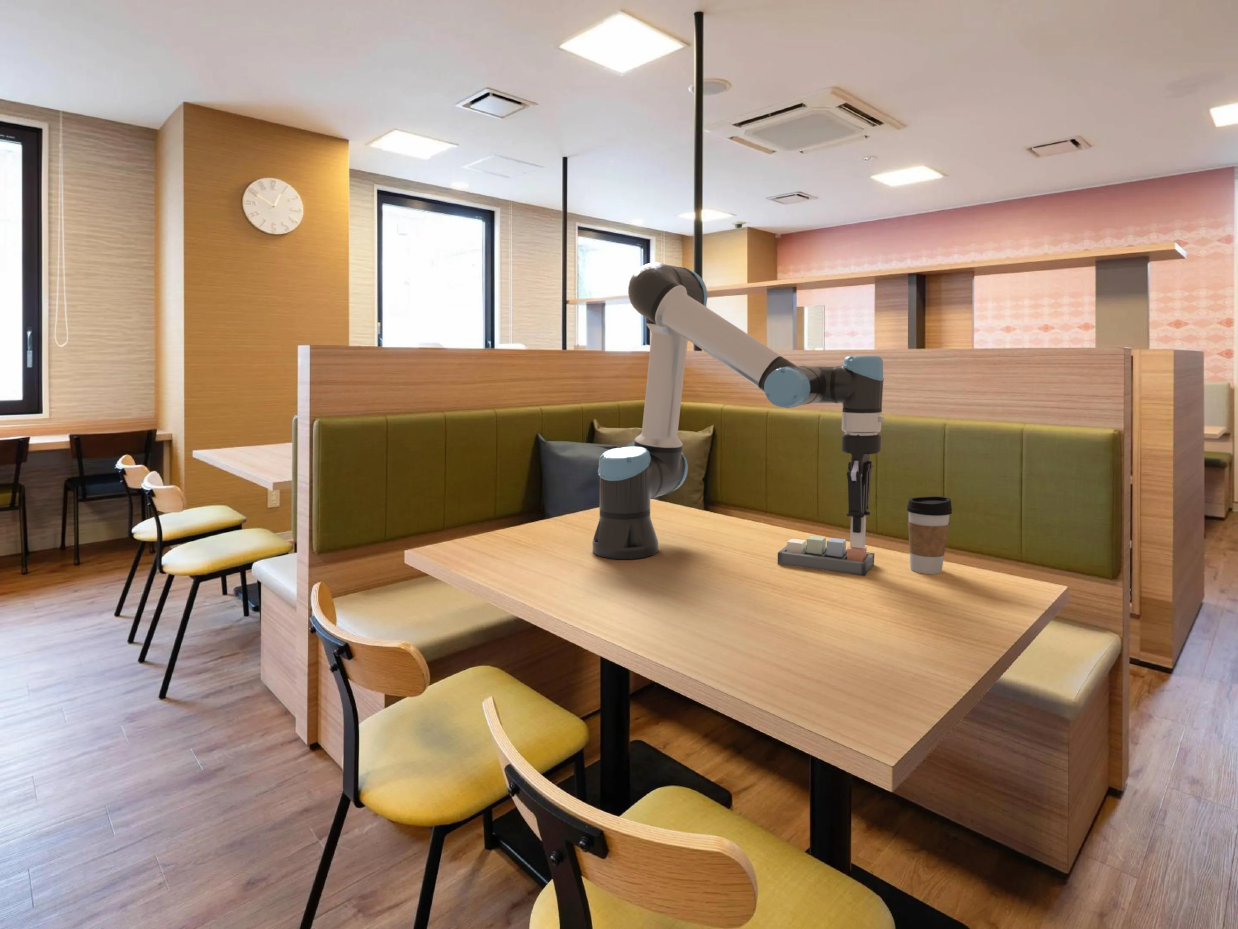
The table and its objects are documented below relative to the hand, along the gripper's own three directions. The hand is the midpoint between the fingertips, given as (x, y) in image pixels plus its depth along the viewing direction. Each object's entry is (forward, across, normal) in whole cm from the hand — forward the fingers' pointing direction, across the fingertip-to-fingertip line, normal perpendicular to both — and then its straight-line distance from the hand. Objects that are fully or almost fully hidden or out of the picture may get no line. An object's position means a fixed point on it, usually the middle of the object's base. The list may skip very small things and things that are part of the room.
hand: (857, 546), depth 143 cm
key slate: (+2, 0, +4) cm, 5 cm away
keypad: (+5, 0, +6) cm, 8 cm away
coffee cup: (+5, +6, -13) cm, 15 cm away
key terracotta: (+3, 0, 0) cm, 3 cm away
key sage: (+2, 0, +8) cm, 9 cm away
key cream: (+3, 0, +13) cm, 13 cm away
